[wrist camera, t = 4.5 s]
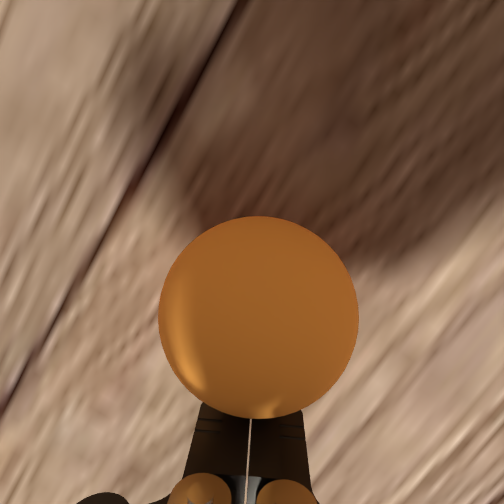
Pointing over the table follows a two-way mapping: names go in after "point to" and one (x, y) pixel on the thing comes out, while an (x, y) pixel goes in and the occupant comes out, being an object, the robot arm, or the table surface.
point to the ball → (258, 317)
